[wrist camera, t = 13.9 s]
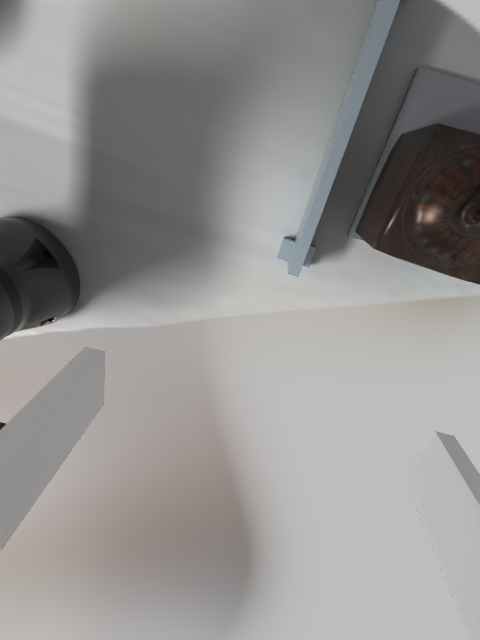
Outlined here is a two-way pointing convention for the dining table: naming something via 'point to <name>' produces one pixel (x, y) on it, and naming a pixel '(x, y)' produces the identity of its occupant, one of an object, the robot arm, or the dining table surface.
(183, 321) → the dining table surface
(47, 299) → the robot arm
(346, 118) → the low wall
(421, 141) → the coffee grinder
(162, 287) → the dining table surface
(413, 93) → the slate mat
